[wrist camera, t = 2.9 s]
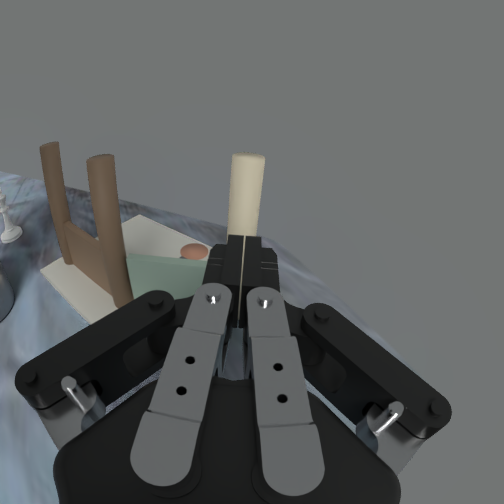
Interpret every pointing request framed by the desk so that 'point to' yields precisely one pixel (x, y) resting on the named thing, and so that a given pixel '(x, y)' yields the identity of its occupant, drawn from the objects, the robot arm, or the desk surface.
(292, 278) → the desk surface
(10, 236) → the chess piece
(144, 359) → the robot arm
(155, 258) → the l-shaped bracket
